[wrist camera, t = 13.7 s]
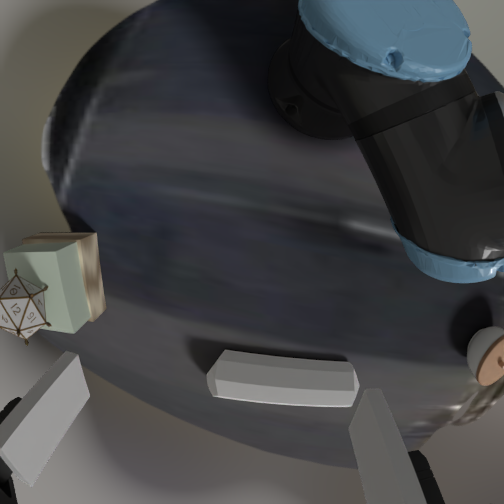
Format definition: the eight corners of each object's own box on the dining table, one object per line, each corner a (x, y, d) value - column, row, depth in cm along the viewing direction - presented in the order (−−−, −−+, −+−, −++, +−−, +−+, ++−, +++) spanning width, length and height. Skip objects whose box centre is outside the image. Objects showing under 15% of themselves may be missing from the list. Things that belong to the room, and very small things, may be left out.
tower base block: (40, 232, 39) (22, 239, 35) (98, 232, 39) (80, 239, 34) (52, 300, 42) (36, 312, 38) (107, 307, 42) (93, 321, 38)
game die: (49, 296, 35) (1, 334, 29) (25, 248, 30) (-29, 288, 24) (76, 325, 31) (21, 372, 25) (47, 272, 26) (-18, 323, 20)
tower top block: (24, 244, 35) (3, 252, 30) (76, 241, 35) (55, 251, 30) (38, 311, 38) (21, 324, 33) (91, 317, 37) (74, 333, 33)
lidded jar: (500, 311, 41) (528, 332, 32) (491, 354, 44) (514, 377, 35) (462, 327, 42) (491, 352, 33) (454, 371, 45) (477, 399, 36)
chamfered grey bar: (371, 364, 39) (208, 348, 39) (364, 409, 38) (201, 397, 37) (353, 360, 47) (212, 345, 46) (347, 400, 45) (206, 387, 44)
